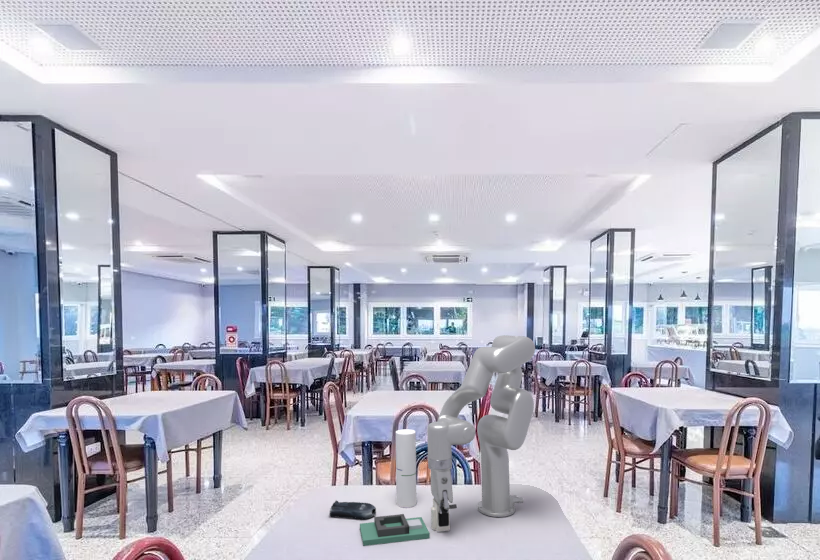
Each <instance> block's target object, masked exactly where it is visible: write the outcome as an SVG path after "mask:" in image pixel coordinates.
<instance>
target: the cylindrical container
mask: <svg viewBox="0 0 820 560" xmlns="http://www.w3.org/2000/svg"><path fill="white" fill-rule="evenodd" d="M416 437H417V435H416V430H414V429H410V428H409V429H408V428H406V429H405V428H404V429H398V430H396V431H395V485H396V489H395V490H396V494H395V495H396V497H395V499H396V500H395V501H396V505H397V506H398V507H400V508H403V509H405V508H406V509H410V508H413V507H415V506H416V505H417V445H416V444H417V442H416V441H417V439H416Z"/></svg>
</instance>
